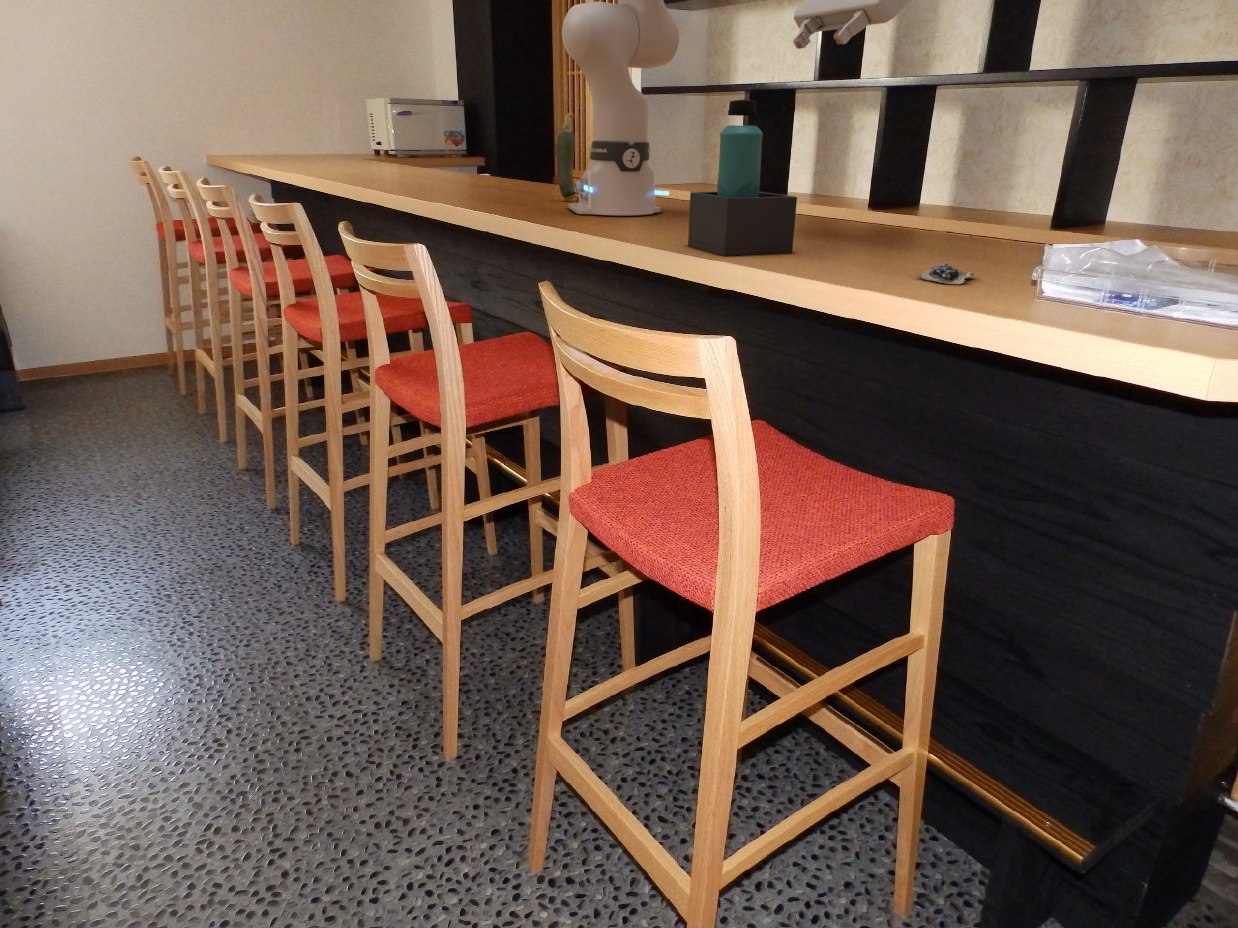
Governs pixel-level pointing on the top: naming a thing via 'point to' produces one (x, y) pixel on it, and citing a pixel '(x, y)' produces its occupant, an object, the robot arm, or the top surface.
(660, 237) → the top surface
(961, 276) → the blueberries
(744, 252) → the box
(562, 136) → the vegetable
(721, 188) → the beverage bottle
